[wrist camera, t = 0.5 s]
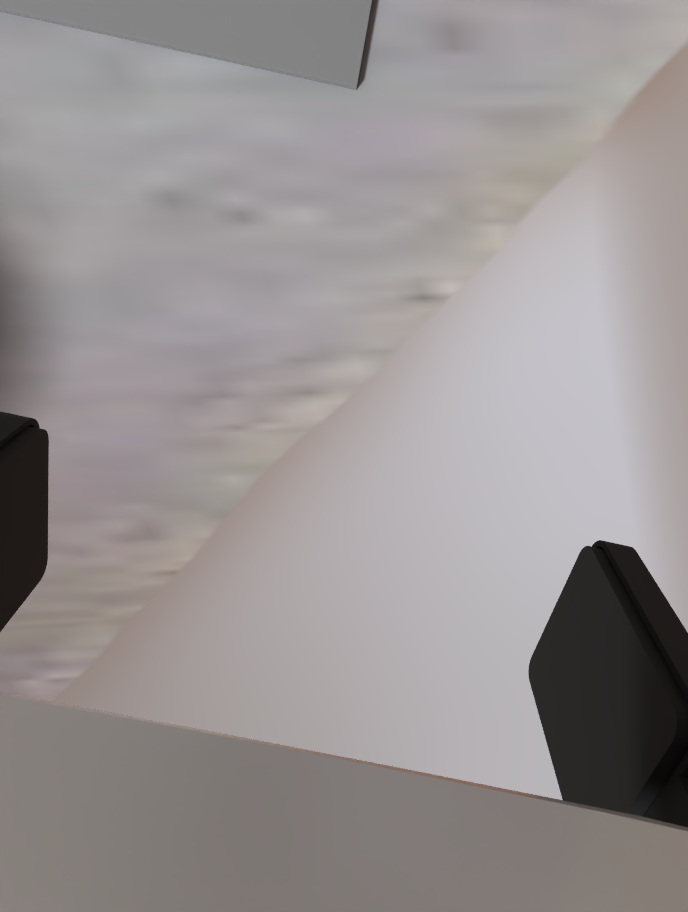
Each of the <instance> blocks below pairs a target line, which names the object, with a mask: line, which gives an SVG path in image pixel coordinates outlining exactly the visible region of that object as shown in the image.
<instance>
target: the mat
mask: <svg viewBox="0 0 688 912" xmlns="http://www.w3.org/2000/svg"><path fill="white" fill-rule="evenodd" d="M371 6H372V0H0V11H1V12H6V13H10V14H15V15H20V16H24V17H29V18H33V19H38V20H42V21H47V22H51V23H56V24H60V25H65V26H69V27H74V28H79V29H83V30H88V31H92V32H97V33H101V34H106V35H110V36H115V37H119V38H124V39H129V40H133V41H138V42H142V43H147V44H151V45H156V46H160V47H165V48H169V49H174V50H178V51H183V52H188V53H192V54H197V55H201V56H206V57H210V58H215V59H219V60H224V61H228V62H233V63H238V64H242V65H247V66H251V67H256V68H260V69H265V70H269V71H274V72H278V73H283V74H287V75H292V76H297V77H301V78H306V79H310V80H315V81H319V82H324V83H328V84H333V85H337V86H342V87H347V88H351V89H356V90H357V85H358V79H359V73H360V68H361V62H362V56H363V51H364V45H365V39H366V34H367V28H368V23H369V17H370V11H371Z"/></svg>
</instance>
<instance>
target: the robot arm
mask: <svg viewBox="0 0 688 912" xmlns="http://www.w3.org/2000/svg"><path fill="white" fill-rule="evenodd" d="M48 447H49V440H48V433H47V431H46V430H44V429H39V424H38V422H37V421H36V420H35V419H33V418H28V417H23V416H19V415H14V414H9V413H5V412H0V632H1V630H2V629H3V628H4V626H5V625H6V624H7V623H8V621H9V620H10V619H11V617H12V616H13V615H14V614H15V612H16V611H17V610H18V608H19V607H20V606H21V605H22V603H23V602H24V601H25V599H26V598H27V597H28V596H29V594H30V593H31V592H32V590H33V589H34V588H35V587H36V585H37V584H38V583H39V581H40V580H41V578H42V577H43V574H44V572H45V569H46V565H47V559H48ZM529 680H530V684H531V688H532V691H533V695H534V698H535V702H536V705H537V709H538V713H539V716H540V720H541V723H542V727H543V730H544V734H545V738H546V741H547V745H548V748H549V752H550V756H551V759H552V763H553V766H554V770H555V773H556V777H557V781H558V784H559V788H560V791H561V795H562V799H563V800H558V799H553V798H548V797H543V796H538V795H533V794H528V793H523V792H518V791H512V790H508V789H503V788H497V787H493V786H488V785H483V784H478V783H473V782H468V781H463V780H458V779H453V778H448V777H443V776H438V775H432V774H428V773H423V772H417V771H412V770H407V769H403V768H397V767H393V766H388V765H382V764H377V763H372V762H367V761H362V760H357V759H352V758H346V757H341V756H336V755H331V754H326V753H321V752H315V751H310V750H305V749H300V748H295V747H290V746H285V745H280V744H274V743H269V742H264V741H259V740H254V739H248V738H243V737H238V736H233V735H228V734H222V733H217V732H212V731H207V730H202V729H196V728H191V727H186V726H181V725H176V724H170V723H164V722H159V721H154V720H149V719H144V718H138V717H133V716H128V715H122V714H116V713H112V712H106V711H101V710H96V709H90V708H85V707H79V706H74V705H68V704H64V703H57V702H53V701H48V700H42V699H37V698H32V697H26V696H21V695H16V694H10V693H5V692H0V912H688V633H687V631H686V630H685V628H684V627H683V625H682V623H681V622H680V620H679V618H678V617H677V615H676V614H675V612H674V611H673V609H672V607H671V606H670V604H669V603H668V601H667V599H666V598H665V596H664V595H663V593H662V592H661V590H660V588H659V587H658V585H657V583H656V582H655V580H654V579H653V577H652V576H651V574H650V572H649V571H648V569H647V568H646V566H645V565H644V563H643V562H642V560H641V558H640V557H639V555H638V553H637V552H636V550H635V549H634V548H632V547H629V546H624V545H620V544H615V543H610V542H606V541H601V540H599V541H597V542H595V543H594V544H593V546H592V547H590V546H586V547H584V548H583V549H582V550H581V552H580V554H579V556H578V558H577V560H576V562H575V565H574V567H573V569H572V571H571V574H570V575H569V577H568V580H567V582H566V584H565V586H564V588H563V590H562V593H561V595H560V597H559V599H558V601H557V603H556V605H555V608H554V610H553V612H552V614H551V616H550V619H549V621H548V623H547V625H546V627H545V629H544V632H543V633H542V636H541V638H540V640H539V642H538V644H537V646H536V649H535V651H534V653H533V655H532V657H531V660H530V664H529Z"/></svg>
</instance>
